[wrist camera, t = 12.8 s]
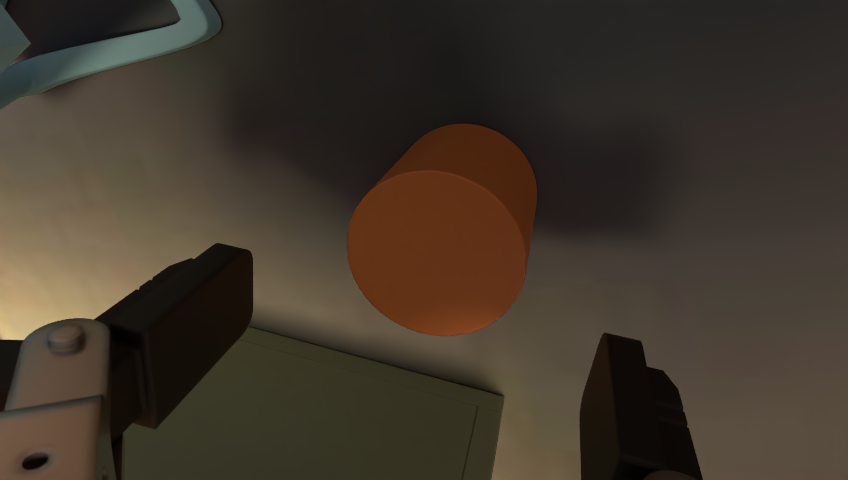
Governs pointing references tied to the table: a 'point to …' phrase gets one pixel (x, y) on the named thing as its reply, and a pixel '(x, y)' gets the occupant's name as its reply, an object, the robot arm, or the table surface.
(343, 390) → the pale green hollow box
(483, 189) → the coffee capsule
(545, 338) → the table surface
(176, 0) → the chair
